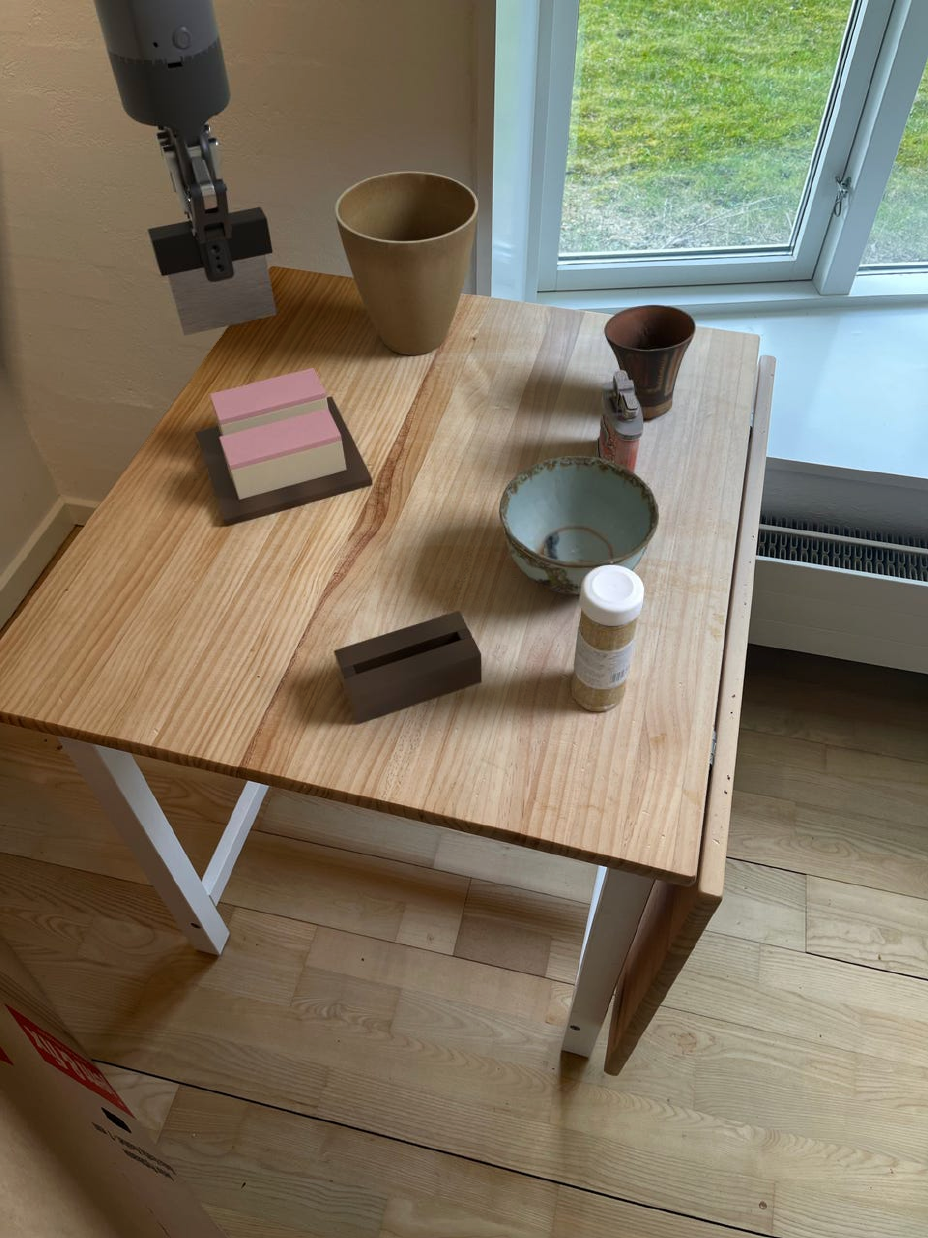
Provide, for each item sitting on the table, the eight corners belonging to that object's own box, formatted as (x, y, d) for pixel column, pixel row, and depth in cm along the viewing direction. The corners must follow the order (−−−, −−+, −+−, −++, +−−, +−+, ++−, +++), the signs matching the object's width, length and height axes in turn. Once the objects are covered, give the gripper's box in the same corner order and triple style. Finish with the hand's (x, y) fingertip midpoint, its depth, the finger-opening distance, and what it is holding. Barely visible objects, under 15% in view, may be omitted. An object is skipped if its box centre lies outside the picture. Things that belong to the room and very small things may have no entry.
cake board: (226, 526, 92) (223, 519, 91) (196, 439, 100) (194, 431, 99) (372, 484, 95) (371, 477, 94) (333, 403, 103) (331, 395, 103)
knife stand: (357, 724, 77) (351, 697, 74) (339, 678, 80) (333, 650, 77) (482, 682, 80) (481, 654, 77) (460, 638, 83) (459, 609, 79)
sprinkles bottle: (606, 661, 81) (623, 554, 70) (635, 701, 78) (657, 596, 68) (559, 681, 80) (569, 575, 69) (587, 722, 77) (602, 618, 66)
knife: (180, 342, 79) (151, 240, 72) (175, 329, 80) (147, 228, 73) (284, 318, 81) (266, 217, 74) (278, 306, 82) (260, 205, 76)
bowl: (541, 648, 82) (545, 587, 76) (474, 545, 89) (473, 483, 83) (676, 594, 85) (690, 532, 79) (600, 500, 93) (607, 437, 87)
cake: (239, 500, 93) (229, 465, 89) (229, 471, 95) (218, 436, 92) (346, 470, 95) (341, 435, 92) (333, 442, 98) (327, 407, 94)
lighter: (590, 441, 98) (598, 360, 91) (622, 438, 98) (633, 357, 91) (606, 495, 93) (616, 414, 86) (640, 491, 93) (653, 411, 86)
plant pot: (453, 386, 105) (447, 252, 92) (331, 360, 108) (309, 227, 96) (497, 312, 113) (497, 180, 101) (382, 290, 117) (369, 160, 104)
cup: (609, 370, 106) (618, 289, 98) (689, 386, 104) (705, 305, 96) (586, 418, 101) (594, 337, 93) (670, 437, 98) (685, 355, 91)
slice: (228, 454, 97) (218, 420, 93) (219, 428, 100) (208, 393, 96) (331, 427, 99) (325, 392, 96) (319, 402, 102) (313, 367, 98)
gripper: (90, 7, 67) (155, 239, 80) (121, 80, 59) (188, 325, 72) (195, -9, 68) (242, 221, 82) (240, 60, 60) (284, 303, 74)
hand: (217, 269), depth 77 cm, fingers closed on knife, 2 cm apart
